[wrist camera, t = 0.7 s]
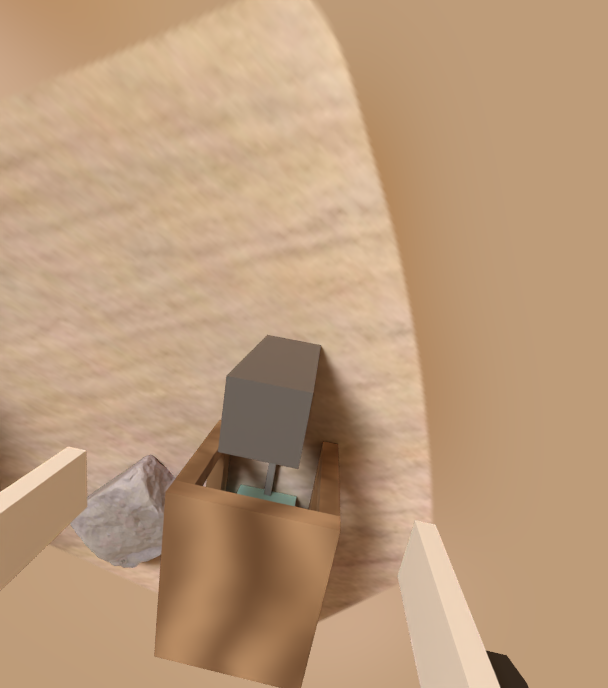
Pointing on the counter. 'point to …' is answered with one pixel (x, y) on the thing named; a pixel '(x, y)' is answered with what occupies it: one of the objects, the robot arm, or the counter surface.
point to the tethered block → (269, 408)
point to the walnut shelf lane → (244, 571)
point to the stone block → (127, 515)
